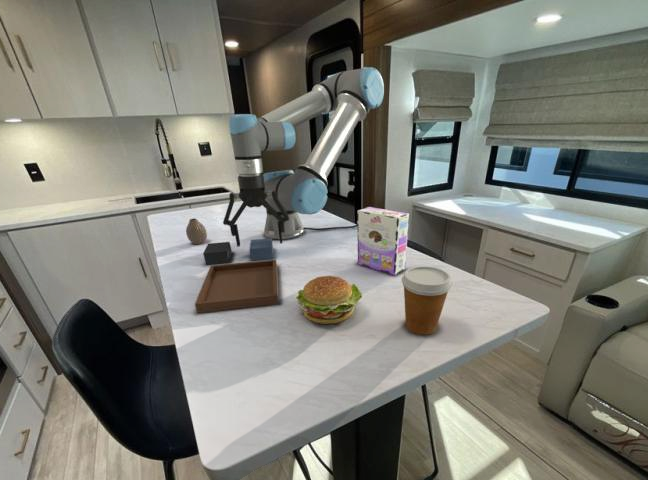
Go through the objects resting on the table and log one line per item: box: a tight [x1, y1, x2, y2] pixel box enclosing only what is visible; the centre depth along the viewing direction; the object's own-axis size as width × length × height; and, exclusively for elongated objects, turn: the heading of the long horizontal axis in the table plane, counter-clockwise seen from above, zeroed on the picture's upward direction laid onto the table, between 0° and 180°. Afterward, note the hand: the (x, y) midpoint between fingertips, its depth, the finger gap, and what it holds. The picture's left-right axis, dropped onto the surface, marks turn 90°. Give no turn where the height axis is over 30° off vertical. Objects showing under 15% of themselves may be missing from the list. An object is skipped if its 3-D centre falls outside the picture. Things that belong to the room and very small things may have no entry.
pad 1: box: [202, 241, 233, 266], centre depth 104 cm, size 7×9×4 cm
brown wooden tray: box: [194, 259, 280, 314], centre depth 85 cm, size 19×23×2 cm
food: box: [295, 275, 363, 325], centre depth 72 cm, size 14×14×8 cm
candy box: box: [356, 206, 410, 276], centre depth 91 cm, size 14×6×16 cm, turn 47°
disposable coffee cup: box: [401, 265, 453, 336], centre depth 65 cm, size 10×10×12 cm
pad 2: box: [249, 238, 275, 262], centre depth 106 cm, size 7×9×4 cm
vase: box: [185, 217, 208, 245], centre depth 117 cm, size 7×7×9 cm
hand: (260, 243), depth 104 cm, fingers open, 13 cm apart
